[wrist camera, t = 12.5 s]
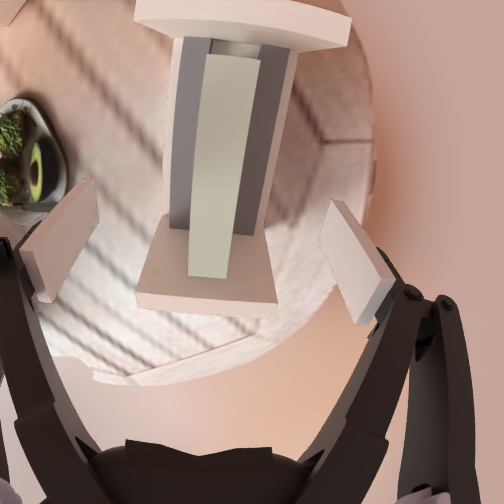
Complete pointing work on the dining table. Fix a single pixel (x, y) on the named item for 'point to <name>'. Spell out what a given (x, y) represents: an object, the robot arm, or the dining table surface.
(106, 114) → the dining table surface
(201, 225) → the door panel
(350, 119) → the dining table surface
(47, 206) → the salad plate
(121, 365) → the dining table surface
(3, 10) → the milk
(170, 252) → the cabinet base
